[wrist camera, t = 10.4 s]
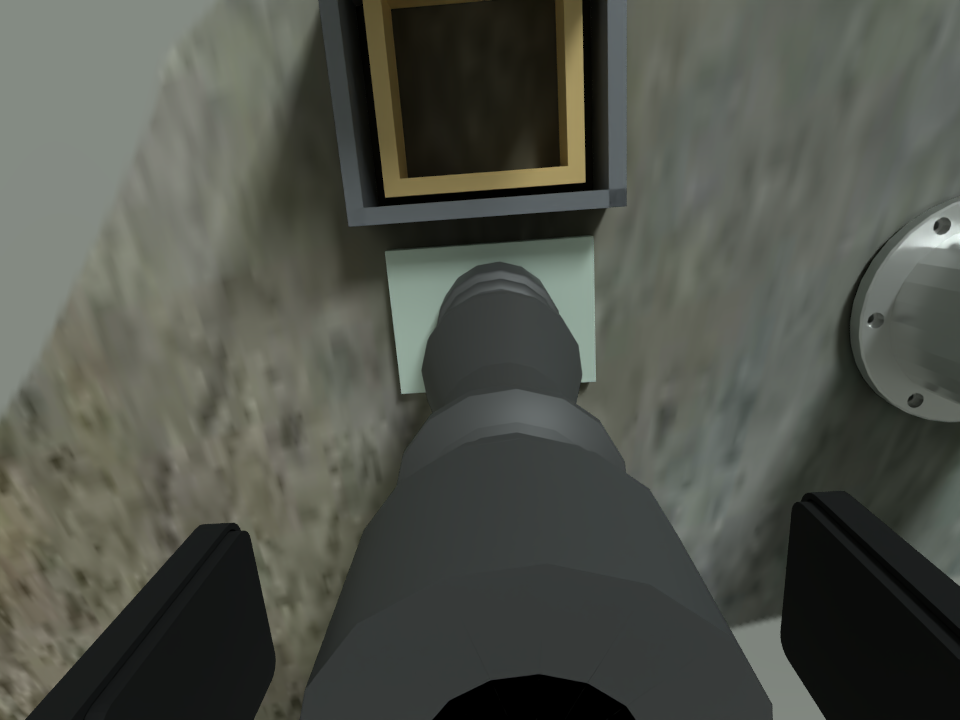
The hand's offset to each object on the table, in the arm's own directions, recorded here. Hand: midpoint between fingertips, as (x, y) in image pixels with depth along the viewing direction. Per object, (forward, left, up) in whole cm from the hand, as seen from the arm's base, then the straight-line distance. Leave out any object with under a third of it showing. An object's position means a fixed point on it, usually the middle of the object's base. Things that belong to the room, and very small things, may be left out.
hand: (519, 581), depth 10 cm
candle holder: (0, 0, -22) cm, 22 cm away
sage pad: (0, 0, -23) cm, 23 cm away
